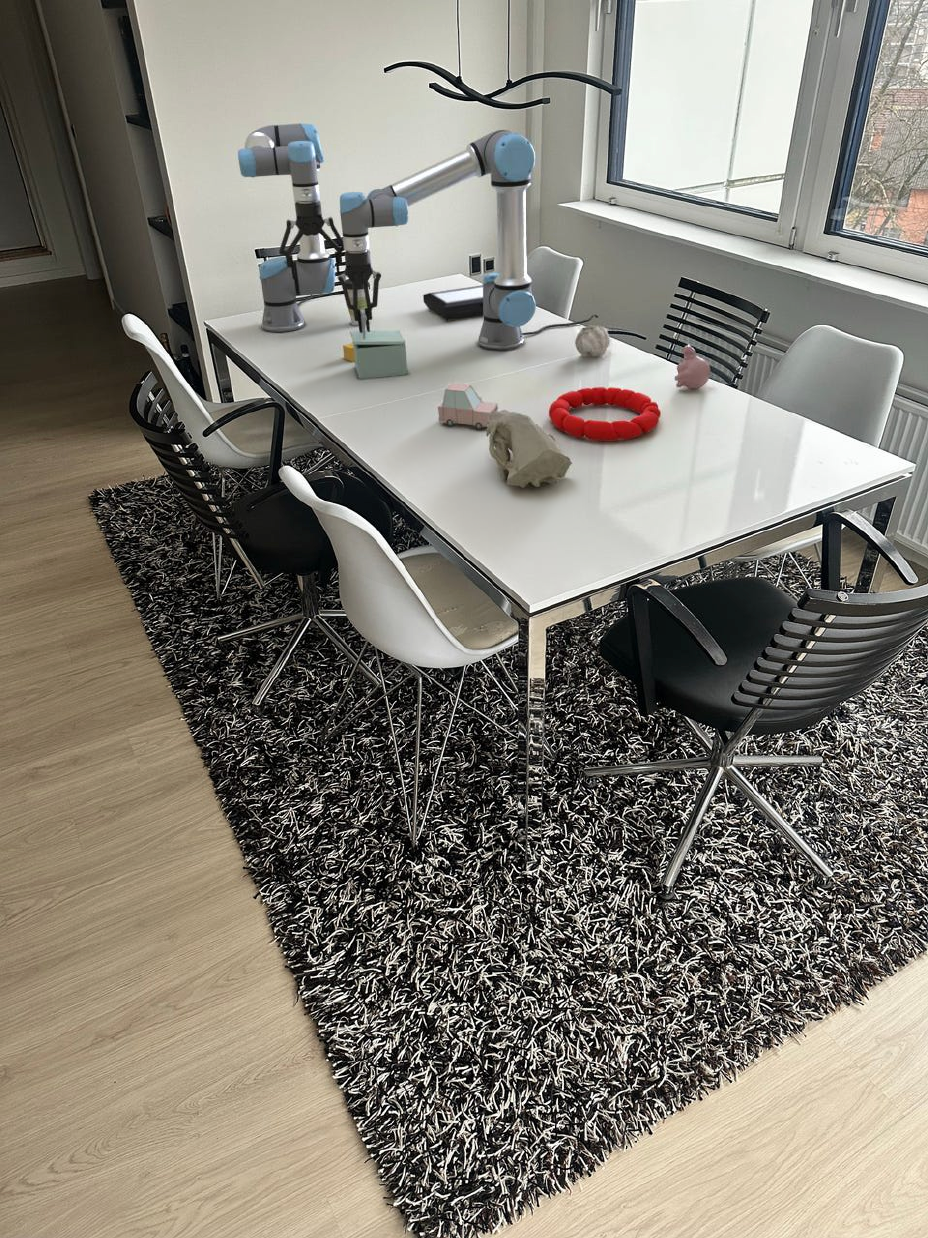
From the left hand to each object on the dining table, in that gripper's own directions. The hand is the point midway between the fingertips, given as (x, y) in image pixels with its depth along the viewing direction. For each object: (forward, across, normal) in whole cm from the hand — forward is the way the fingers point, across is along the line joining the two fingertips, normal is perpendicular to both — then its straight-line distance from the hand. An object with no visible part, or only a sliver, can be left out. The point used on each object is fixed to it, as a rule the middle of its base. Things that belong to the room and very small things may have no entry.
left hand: (316, 276), depth 273 cm
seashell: (+28, +86, -13) cm, 91 cm away
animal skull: (+28, +43, -91) cm, 105 cm away
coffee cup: (+28, +14, +45) cm, 55 cm away
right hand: (+15, +13, -9) cm, 21 cm away
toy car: (+28, +36, -58) cm, 74 cm away
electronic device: (+28, +58, +50) cm, 81 cm away
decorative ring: (+28, +72, -67) cm, 102 cm away
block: (+28, +9, +6) cm, 30 cm away
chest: (+28, +17, -9) cm, 34 cm away
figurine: (+28, +104, -48) cm, 118 cm away
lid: (+18, +16, -9) cm, 26 cm away
